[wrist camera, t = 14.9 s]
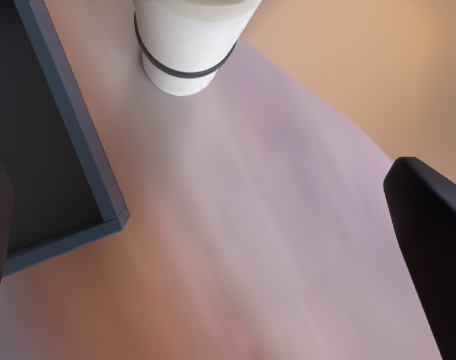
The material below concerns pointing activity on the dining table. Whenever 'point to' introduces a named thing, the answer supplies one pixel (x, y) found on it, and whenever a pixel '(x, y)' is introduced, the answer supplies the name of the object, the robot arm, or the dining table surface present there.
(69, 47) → the dining table surface
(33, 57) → the box
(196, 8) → the light grey piece
